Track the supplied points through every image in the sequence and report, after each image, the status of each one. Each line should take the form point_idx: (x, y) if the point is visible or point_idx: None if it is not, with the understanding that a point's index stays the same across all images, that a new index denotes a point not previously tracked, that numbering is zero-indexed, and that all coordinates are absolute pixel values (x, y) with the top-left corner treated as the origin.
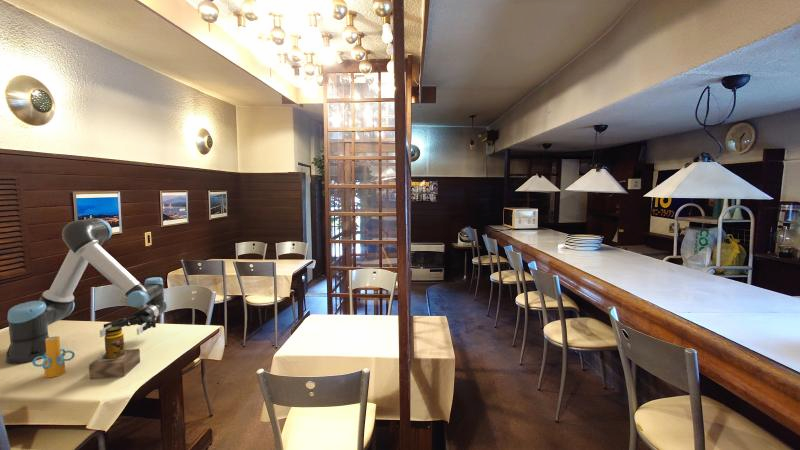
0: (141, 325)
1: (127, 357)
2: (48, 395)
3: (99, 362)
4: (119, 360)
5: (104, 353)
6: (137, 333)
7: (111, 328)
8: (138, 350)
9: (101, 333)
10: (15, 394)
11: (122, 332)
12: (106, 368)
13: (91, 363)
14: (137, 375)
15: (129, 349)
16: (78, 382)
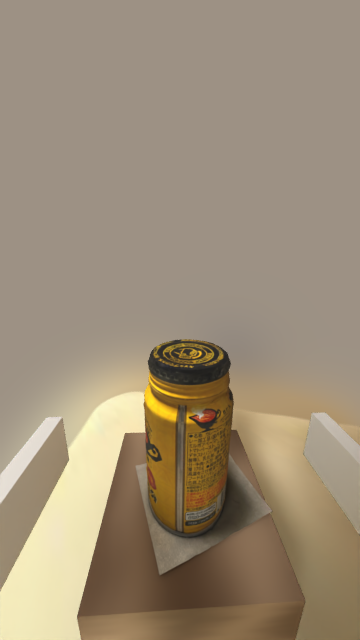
0: (4, 489)
1: (122, 467)
2: (259, 413)
3: None
4: (144, 444)
5: (280, 543)
6: (63, 451)
7: (202, 354)
8: (84, 598)
9: (310, 430)
10: (344, 424)
11: (155, 407)
12: None
13: (235, 436)
14: (87, 477)
15: (151, 609)
16: (250, 458)
